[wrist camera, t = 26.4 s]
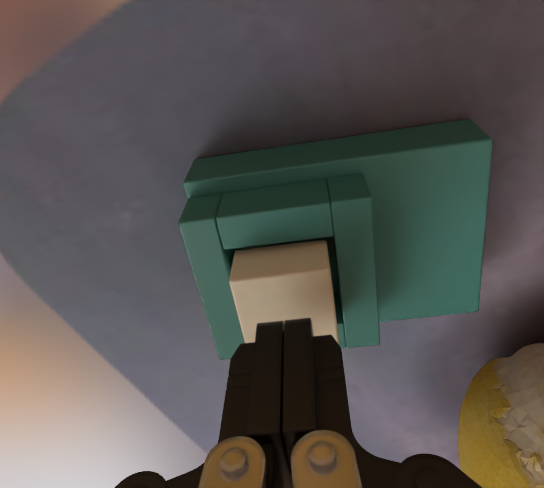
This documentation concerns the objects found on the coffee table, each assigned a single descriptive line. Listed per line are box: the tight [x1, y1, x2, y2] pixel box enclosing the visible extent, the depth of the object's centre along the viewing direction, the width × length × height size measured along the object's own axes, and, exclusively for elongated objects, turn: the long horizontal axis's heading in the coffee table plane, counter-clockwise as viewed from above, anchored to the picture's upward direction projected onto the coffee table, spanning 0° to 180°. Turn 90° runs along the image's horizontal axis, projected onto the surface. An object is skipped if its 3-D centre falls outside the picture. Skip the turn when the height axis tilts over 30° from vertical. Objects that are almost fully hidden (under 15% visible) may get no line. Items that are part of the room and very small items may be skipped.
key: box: [229, 239, 339, 344], centre depth 15 cm, size 3×3×2 cm
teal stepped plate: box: [178, 119, 493, 360], centre depth 17 cm, size 7×10×4 cm
